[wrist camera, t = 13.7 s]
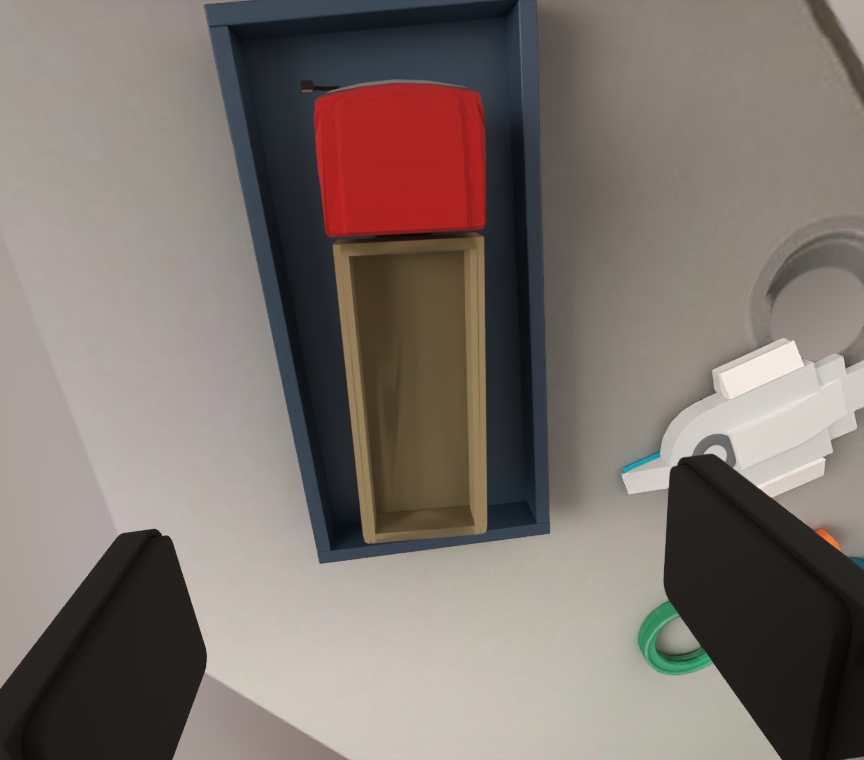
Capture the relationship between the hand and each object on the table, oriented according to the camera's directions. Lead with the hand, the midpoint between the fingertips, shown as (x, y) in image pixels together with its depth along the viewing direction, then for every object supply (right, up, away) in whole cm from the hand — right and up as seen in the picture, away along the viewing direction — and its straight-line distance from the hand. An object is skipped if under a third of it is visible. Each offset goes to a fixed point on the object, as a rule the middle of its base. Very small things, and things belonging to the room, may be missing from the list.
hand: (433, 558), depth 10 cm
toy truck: (-2, +7, +19) cm, 20 cm away
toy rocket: (+19, +1, +24) cm, 31 cm away
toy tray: (-1, +7, +19) cm, 21 cm away
